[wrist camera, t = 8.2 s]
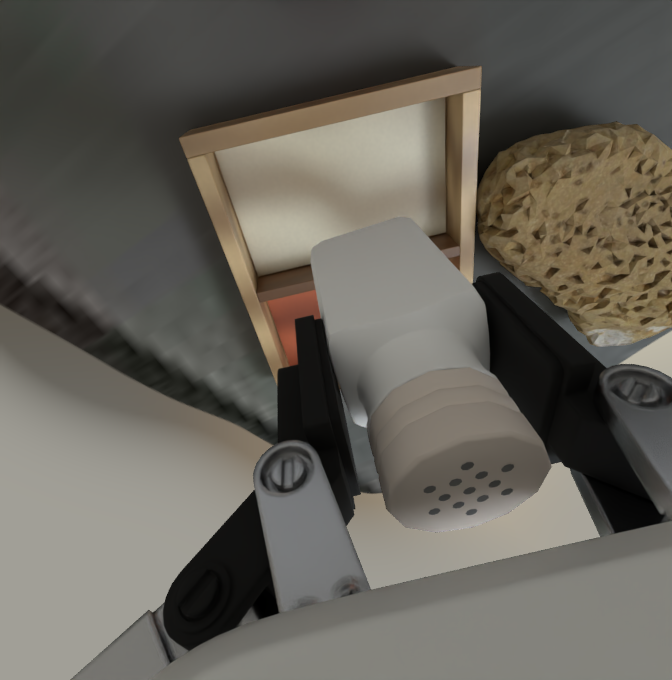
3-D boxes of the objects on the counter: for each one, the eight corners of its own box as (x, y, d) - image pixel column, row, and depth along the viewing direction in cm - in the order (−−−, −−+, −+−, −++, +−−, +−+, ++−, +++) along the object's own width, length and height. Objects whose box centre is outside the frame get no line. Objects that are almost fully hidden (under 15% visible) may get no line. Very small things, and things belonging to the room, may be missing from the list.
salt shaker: (304, 240, 13) (341, 459, 6) (409, 206, 13) (591, 388, 6) (333, 325, 16) (386, 560, 8) (423, 298, 16) (563, 513, 8)
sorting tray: (189, 130, 21) (178, 137, 19) (458, 66, 21) (482, 65, 19) (282, 377, 33) (283, 402, 31) (455, 337, 33) (469, 358, 31)
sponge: (669, 248, 32) (681, 6, 19) (739, 314, 27) (823, 54, 14) (518, 317, 38) (442, 168, 24) (554, 382, 33) (485, 243, 19)
